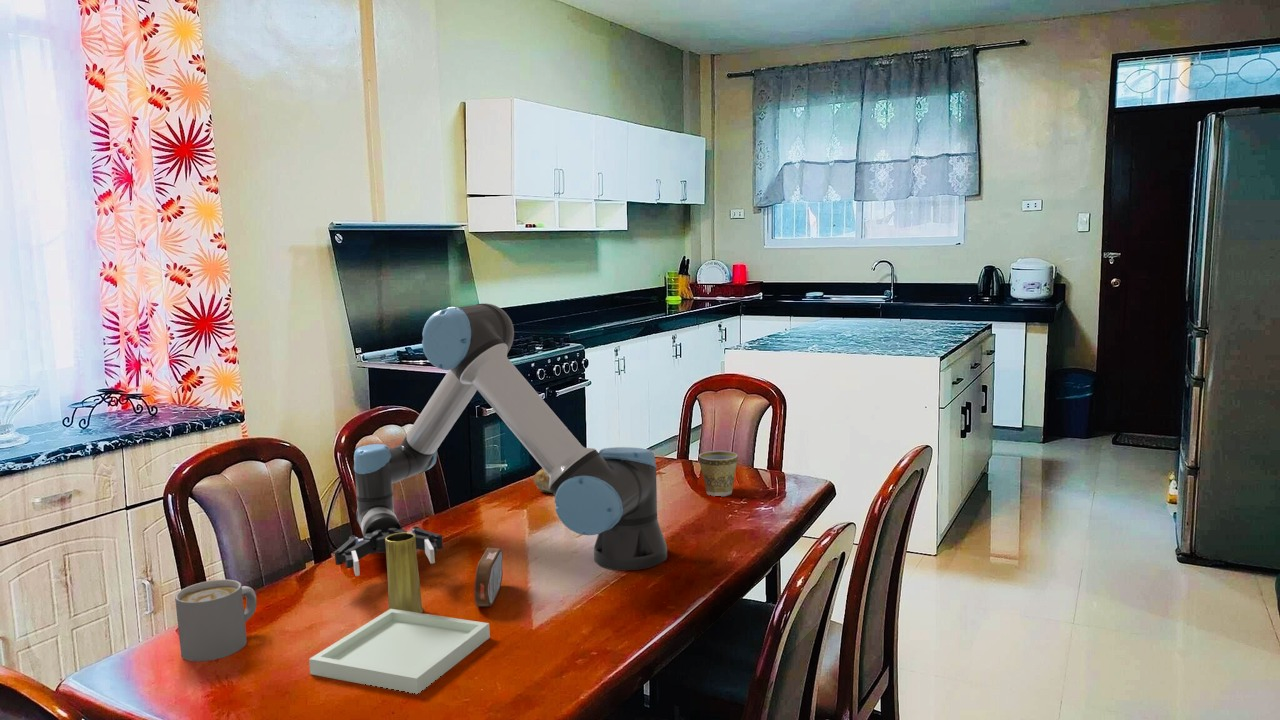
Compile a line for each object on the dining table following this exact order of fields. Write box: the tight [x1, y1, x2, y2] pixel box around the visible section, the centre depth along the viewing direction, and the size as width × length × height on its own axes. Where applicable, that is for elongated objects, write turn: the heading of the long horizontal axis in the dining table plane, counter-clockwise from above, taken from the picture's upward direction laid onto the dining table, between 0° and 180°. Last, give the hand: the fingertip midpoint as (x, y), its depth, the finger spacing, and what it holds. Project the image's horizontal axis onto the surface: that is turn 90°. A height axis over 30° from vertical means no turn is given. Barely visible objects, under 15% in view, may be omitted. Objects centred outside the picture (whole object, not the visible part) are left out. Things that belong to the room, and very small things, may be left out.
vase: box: [385, 531, 424, 613], centre depth 159 cm, size 6×6×14 cm
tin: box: [474, 547, 504, 608], centre depth 166 cm, size 15×3×8 cm, turn 178°
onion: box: [533, 467, 553, 494], centre depth 236 cm, size 8×8×8 cm
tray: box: [308, 608, 491, 695], centre depth 144 cm, size 20×20×2 cm
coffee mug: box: [174, 578, 258, 663], centre depth 150 cm, size 13×10×10 cm
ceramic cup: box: [698, 450, 738, 497], centre depth 231 cm, size 13×10×10 cm
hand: (395, 562), depth 165 cm, fingers open, 13 cm apart
